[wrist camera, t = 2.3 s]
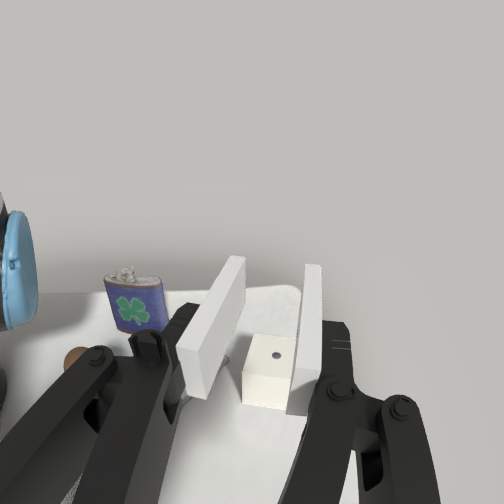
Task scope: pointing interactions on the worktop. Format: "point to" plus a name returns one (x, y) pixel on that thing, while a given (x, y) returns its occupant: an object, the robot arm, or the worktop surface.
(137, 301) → the flask
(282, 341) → the white die
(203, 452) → the worktop surface
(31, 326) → the worktop surface
